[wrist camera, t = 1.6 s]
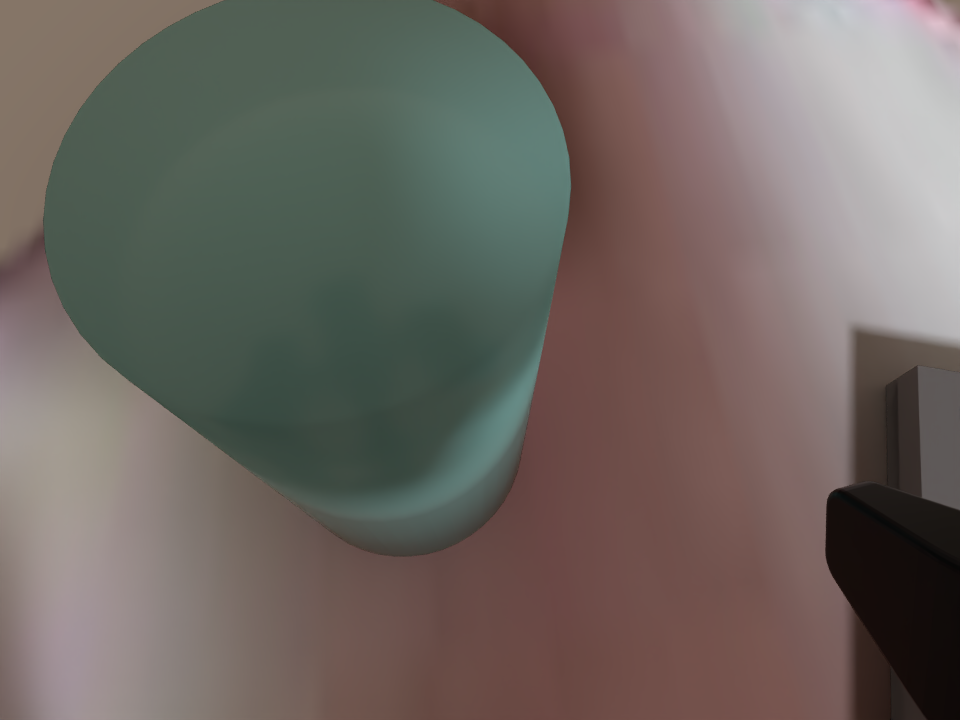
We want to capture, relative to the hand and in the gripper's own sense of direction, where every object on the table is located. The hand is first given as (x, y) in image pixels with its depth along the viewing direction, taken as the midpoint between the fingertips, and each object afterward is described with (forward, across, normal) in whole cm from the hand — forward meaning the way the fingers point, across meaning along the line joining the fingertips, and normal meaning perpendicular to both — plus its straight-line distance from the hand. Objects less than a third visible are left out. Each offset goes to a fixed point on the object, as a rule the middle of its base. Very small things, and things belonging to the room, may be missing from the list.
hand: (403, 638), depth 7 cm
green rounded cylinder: (+12, 0, +5) cm, 13 cm away
